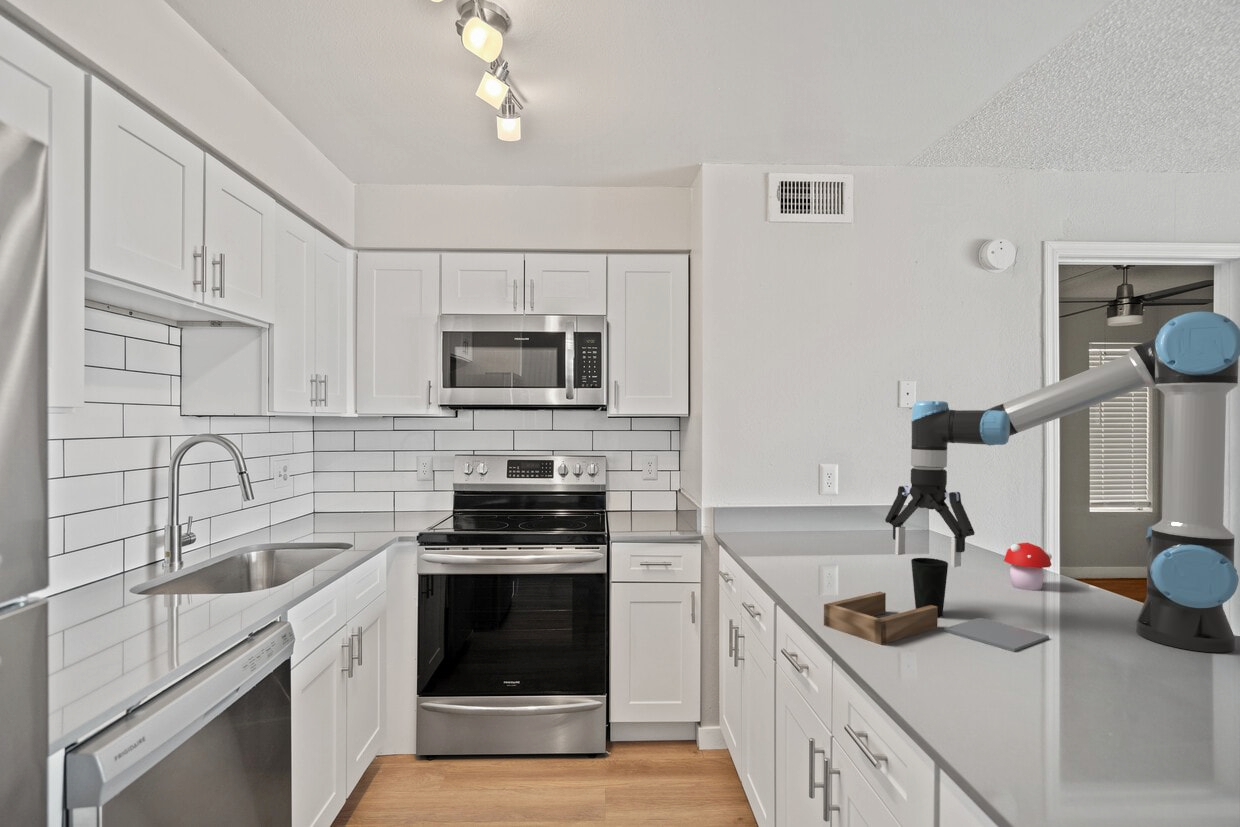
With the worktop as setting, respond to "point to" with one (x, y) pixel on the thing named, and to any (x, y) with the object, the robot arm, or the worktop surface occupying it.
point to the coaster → (996, 634)
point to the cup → (929, 582)
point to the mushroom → (1027, 565)
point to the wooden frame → (877, 619)
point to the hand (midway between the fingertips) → (926, 560)
